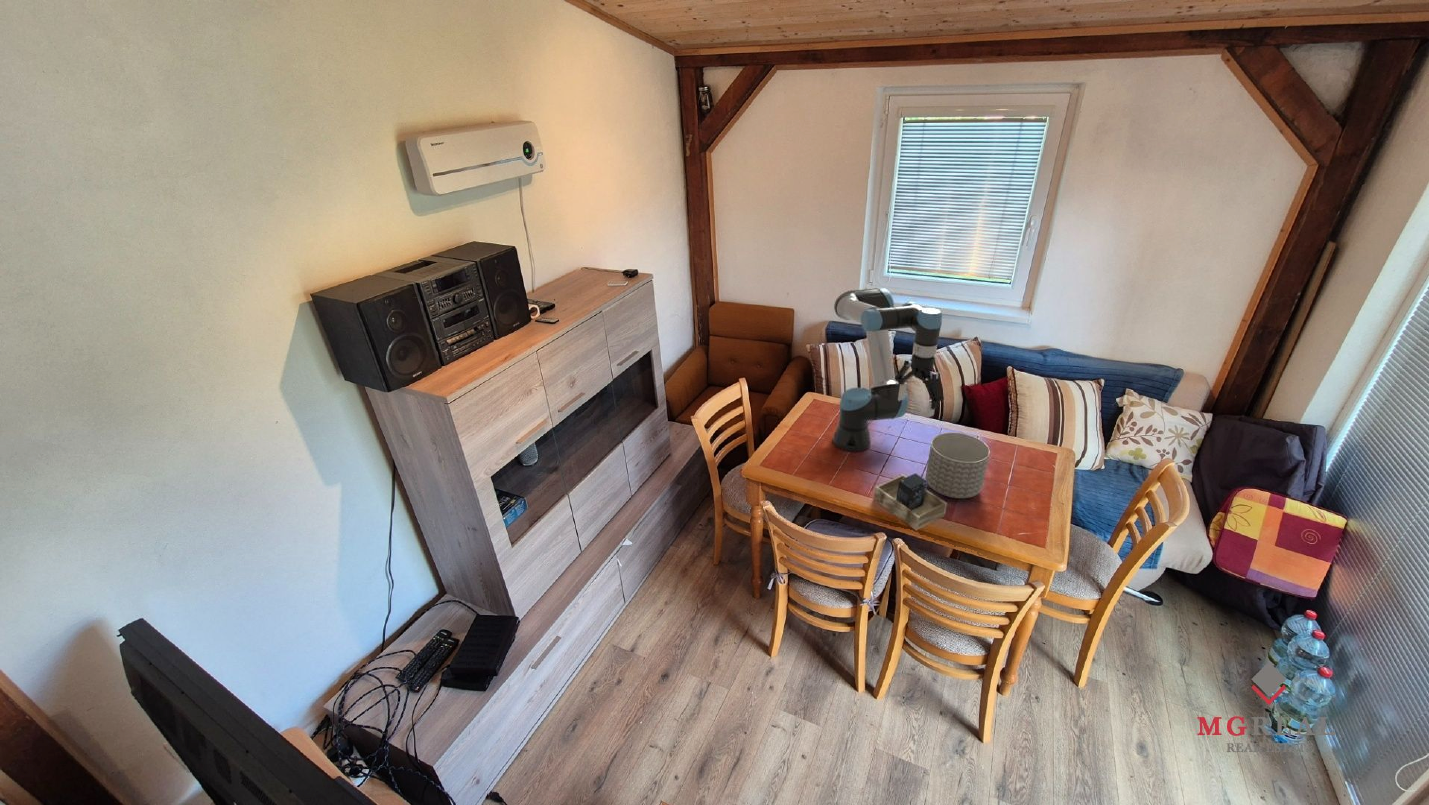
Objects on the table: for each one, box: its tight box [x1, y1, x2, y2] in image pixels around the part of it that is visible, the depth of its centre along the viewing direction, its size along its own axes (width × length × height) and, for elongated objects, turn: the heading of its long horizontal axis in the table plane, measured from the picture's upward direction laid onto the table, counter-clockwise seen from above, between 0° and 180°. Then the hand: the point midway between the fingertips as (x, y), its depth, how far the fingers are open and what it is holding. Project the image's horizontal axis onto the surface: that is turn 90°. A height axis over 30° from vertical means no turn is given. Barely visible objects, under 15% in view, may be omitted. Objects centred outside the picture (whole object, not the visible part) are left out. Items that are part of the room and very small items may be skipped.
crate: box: [873, 473, 948, 531], centre depth 195 cm, size 20×14×6 cm
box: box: [896, 472, 928, 510], centre depth 193 cm, size 8×6×11 cm
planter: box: [924, 431, 991, 499], centre depth 200 cm, size 19×19×18 cm
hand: (915, 407), depth 201 cm, fingers open, 13 cm apart
